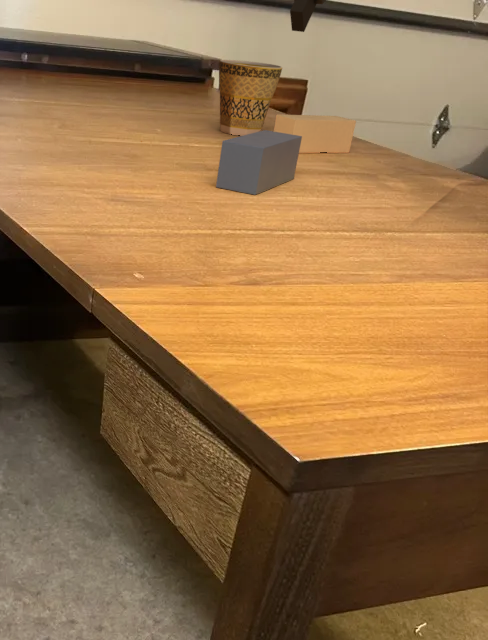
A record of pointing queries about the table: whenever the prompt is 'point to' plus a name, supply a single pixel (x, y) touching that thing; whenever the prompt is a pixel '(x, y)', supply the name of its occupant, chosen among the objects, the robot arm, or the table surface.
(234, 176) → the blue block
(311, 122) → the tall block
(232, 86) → the ceramic cup
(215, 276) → the table surface
